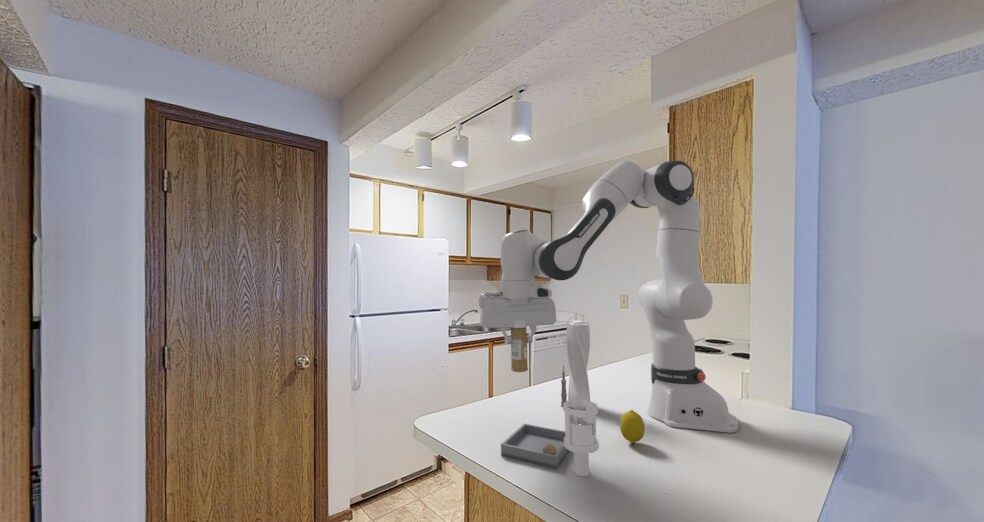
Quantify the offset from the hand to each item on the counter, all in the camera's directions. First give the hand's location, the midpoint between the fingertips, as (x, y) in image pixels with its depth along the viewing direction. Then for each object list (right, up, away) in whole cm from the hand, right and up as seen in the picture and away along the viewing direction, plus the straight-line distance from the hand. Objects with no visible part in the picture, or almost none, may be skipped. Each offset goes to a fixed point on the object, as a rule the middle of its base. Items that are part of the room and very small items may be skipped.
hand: (518, 343), depth 101 cm
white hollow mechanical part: (+11, -22, -22) cm, 33 cm away
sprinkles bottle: (0, -7, 0) cm, 7 cm away
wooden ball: (+6, -20, -17) cm, 27 cm away
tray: (+4, -23, -12) cm, 26 cm away
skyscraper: (+20, -24, +17) cm, 35 cm away
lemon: (+27, -23, -9) cm, 36 cm away
